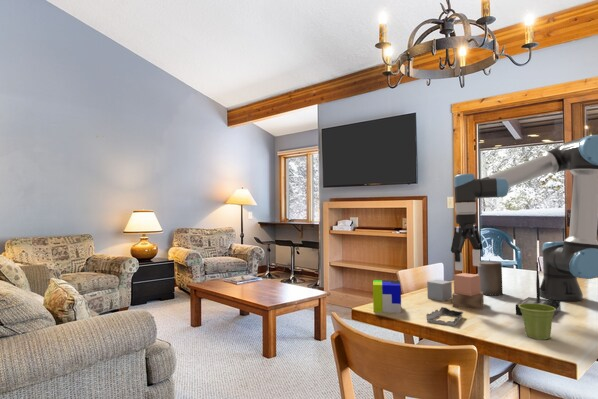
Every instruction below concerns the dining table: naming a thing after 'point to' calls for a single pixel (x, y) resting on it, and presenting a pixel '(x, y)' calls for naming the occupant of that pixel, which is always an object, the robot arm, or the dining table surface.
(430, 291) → the slate grey cube
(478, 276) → the terracotta cube
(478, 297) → the walnut base block
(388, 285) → the puzzle toy
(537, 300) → the wireless controller
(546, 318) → the plant pot
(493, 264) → the pillar candle
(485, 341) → the dining table surface
